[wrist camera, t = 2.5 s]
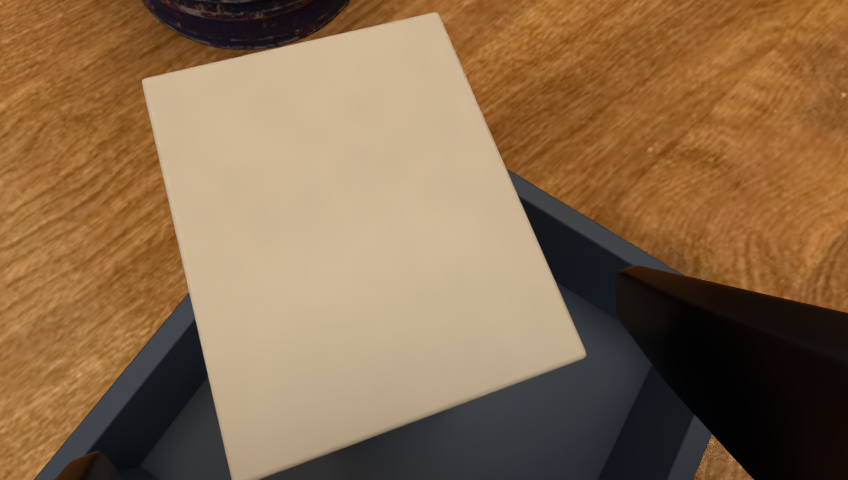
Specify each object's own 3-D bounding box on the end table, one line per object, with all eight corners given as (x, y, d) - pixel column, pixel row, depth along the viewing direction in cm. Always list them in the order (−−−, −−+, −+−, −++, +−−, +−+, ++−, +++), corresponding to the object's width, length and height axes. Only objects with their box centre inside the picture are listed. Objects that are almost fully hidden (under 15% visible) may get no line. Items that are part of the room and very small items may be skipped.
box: (674, 343, 19) (759, 319, 15) (489, 746, 15) (534, 872, 11) (366, 152, 21) (362, 81, 16) (118, 470, 16) (27, 485, 12)
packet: (452, 403, 17) (592, 356, 6) (330, 448, 17) (229, 493, 5) (401, 260, 19) (439, 7, 7) (287, 295, 18) (137, 75, 7)
